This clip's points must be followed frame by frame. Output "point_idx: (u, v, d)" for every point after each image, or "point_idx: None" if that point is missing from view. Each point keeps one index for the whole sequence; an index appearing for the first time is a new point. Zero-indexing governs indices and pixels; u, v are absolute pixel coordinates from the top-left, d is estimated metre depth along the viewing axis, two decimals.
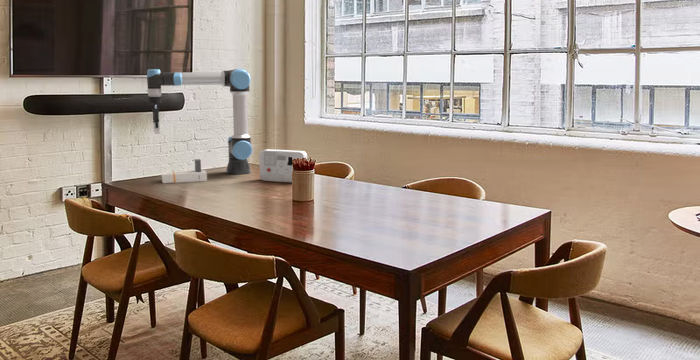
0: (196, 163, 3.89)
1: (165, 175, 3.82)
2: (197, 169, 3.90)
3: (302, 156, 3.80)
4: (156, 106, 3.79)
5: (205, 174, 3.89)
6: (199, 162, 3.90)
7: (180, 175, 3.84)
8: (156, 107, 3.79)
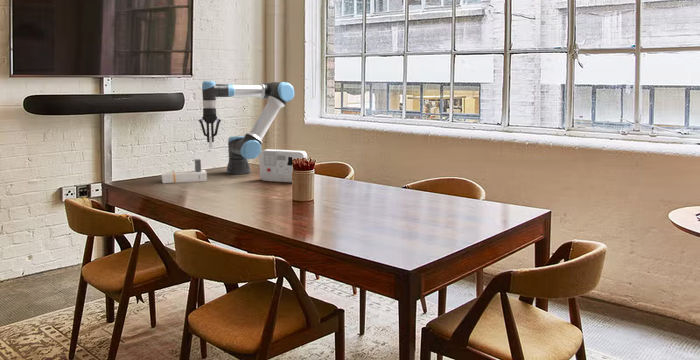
0: (196, 163, 3.89)
1: (165, 175, 3.82)
2: (197, 169, 3.90)
3: (302, 156, 3.80)
4: (199, 121, 3.88)
5: (205, 174, 3.89)
6: (199, 162, 3.90)
7: (180, 175, 3.84)
8: (200, 122, 3.88)
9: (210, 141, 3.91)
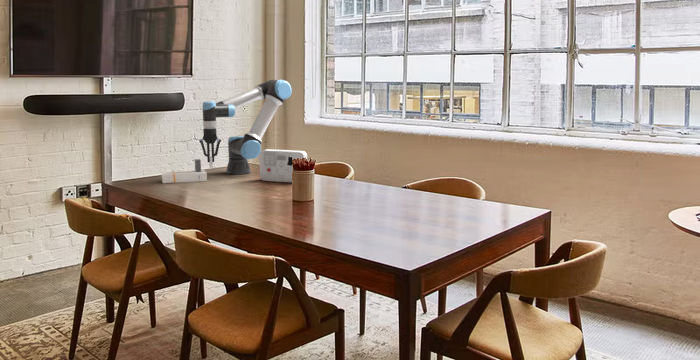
0: (196, 163, 3.89)
1: (165, 175, 3.82)
2: (197, 169, 3.90)
3: (302, 156, 3.80)
4: None
5: (205, 174, 3.89)
6: (199, 162, 3.90)
7: (180, 175, 3.84)
8: (200, 142, 3.90)
9: (210, 161, 3.93)
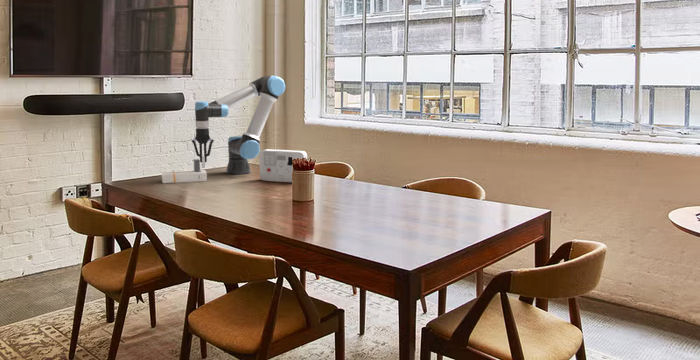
0: (195, 163, 3.89)
1: (165, 175, 3.82)
2: (196, 169, 3.90)
3: (302, 156, 3.80)
4: (192, 142, 3.89)
5: (205, 174, 3.89)
6: (198, 162, 3.90)
7: (180, 175, 3.84)
8: (192, 142, 3.89)
9: (203, 161, 3.91)
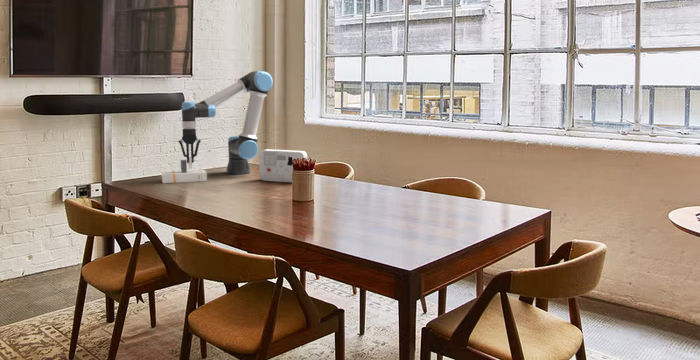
0: (182, 164, 3.87)
1: (165, 175, 3.82)
2: (183, 170, 3.87)
3: (302, 156, 3.80)
4: (179, 142, 3.86)
5: (205, 174, 3.89)
6: (185, 163, 3.87)
7: (180, 175, 3.84)
8: None
9: (190, 162, 3.89)
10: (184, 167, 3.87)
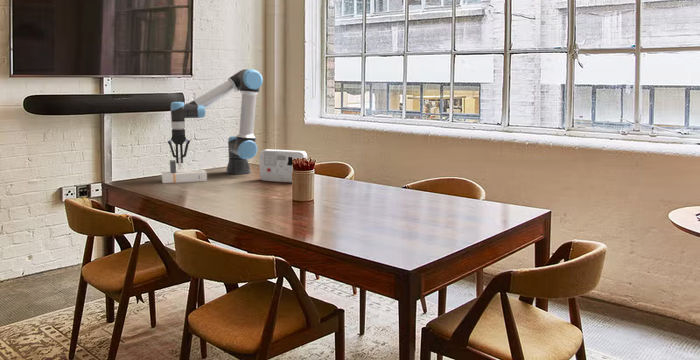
0: (171, 164, 3.85)
1: (165, 175, 3.82)
2: (172, 170, 3.86)
3: (302, 156, 3.80)
4: (168, 142, 3.84)
5: (205, 174, 3.89)
6: (174, 163, 3.85)
7: (180, 175, 3.84)
8: (168, 143, 3.85)
9: (179, 162, 3.87)
10: (173, 167, 3.85)
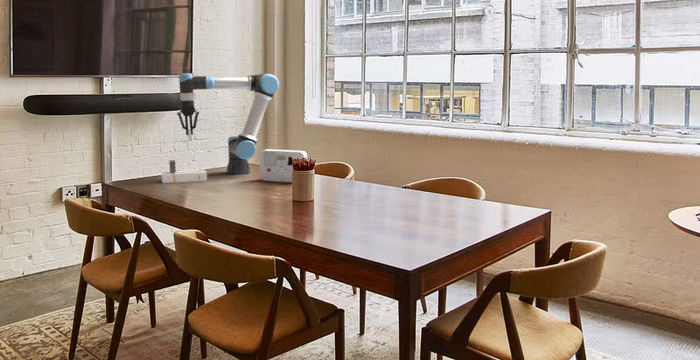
0: (171, 164, 3.85)
1: (165, 175, 3.82)
2: (172, 170, 3.85)
3: (302, 156, 3.80)
4: (177, 114, 3.86)
5: (205, 174, 3.89)
6: (173, 163, 3.85)
7: (180, 175, 3.84)
8: (178, 115, 3.86)
9: (189, 134, 3.89)
10: (173, 168, 3.85)
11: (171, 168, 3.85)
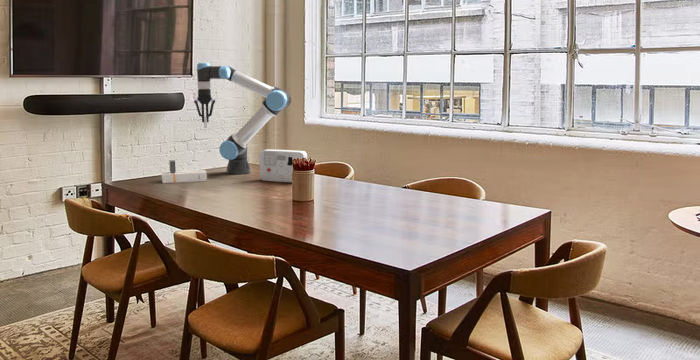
0: (171, 164, 3.85)
1: (165, 175, 3.82)
2: (172, 170, 3.85)
3: (302, 156, 3.80)
4: (194, 102, 4.00)
5: (205, 174, 3.89)
6: (173, 163, 3.85)
7: (180, 175, 3.84)
8: (195, 103, 4.00)
9: (205, 121, 4.03)
10: (173, 168, 3.85)
11: (171, 168, 3.85)
